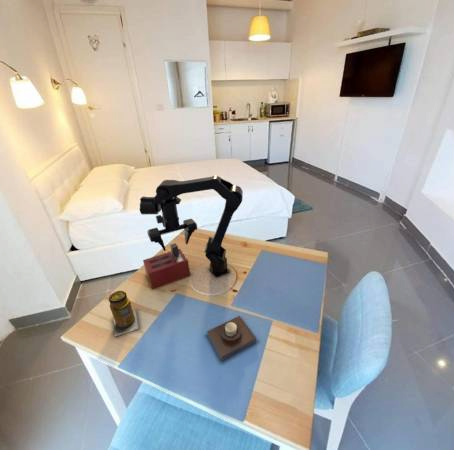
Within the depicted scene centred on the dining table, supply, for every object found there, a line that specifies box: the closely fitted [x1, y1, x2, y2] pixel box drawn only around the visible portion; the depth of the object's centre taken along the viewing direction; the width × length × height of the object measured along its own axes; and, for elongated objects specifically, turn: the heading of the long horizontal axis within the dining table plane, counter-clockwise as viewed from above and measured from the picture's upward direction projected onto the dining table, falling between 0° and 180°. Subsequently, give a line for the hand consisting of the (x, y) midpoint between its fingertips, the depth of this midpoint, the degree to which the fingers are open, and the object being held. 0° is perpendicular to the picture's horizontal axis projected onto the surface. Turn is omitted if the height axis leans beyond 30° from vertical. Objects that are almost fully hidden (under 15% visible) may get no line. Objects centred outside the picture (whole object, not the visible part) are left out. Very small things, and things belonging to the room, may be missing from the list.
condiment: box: [108, 290, 139, 337], centre depth 82 cm, size 7×8×12 cm
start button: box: [225, 322, 237, 336], centre depth 77 cm, size 4×4×2 cm
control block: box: [206, 315, 257, 362], centre depth 78 cm, size 12×10×4 cm
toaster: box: [142, 248, 191, 290], centre depth 105 cm, size 16×10×8 cm, turn 120°
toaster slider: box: [169, 242, 179, 256], centre depth 106 cm, size 2×3×4 cm
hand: (175, 247), depth 103 cm, fingers open, 9 cm apart
